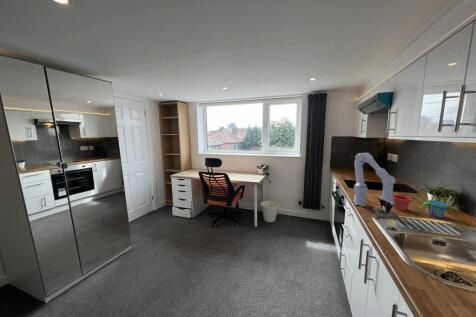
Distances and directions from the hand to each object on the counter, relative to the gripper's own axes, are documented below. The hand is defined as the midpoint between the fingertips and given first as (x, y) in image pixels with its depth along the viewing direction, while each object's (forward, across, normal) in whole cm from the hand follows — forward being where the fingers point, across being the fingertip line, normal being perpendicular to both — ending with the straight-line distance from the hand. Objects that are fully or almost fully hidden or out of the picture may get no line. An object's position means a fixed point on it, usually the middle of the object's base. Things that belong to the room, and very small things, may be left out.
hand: (385, 210), depth 137 cm
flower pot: (+4, -13, +18) cm, 22 cm away
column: (+3, 0, 0) cm, 3 cm away
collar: (+3, 0, 0) cm, 3 cm away
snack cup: (+4, -3, +35) cm, 35 cm away
